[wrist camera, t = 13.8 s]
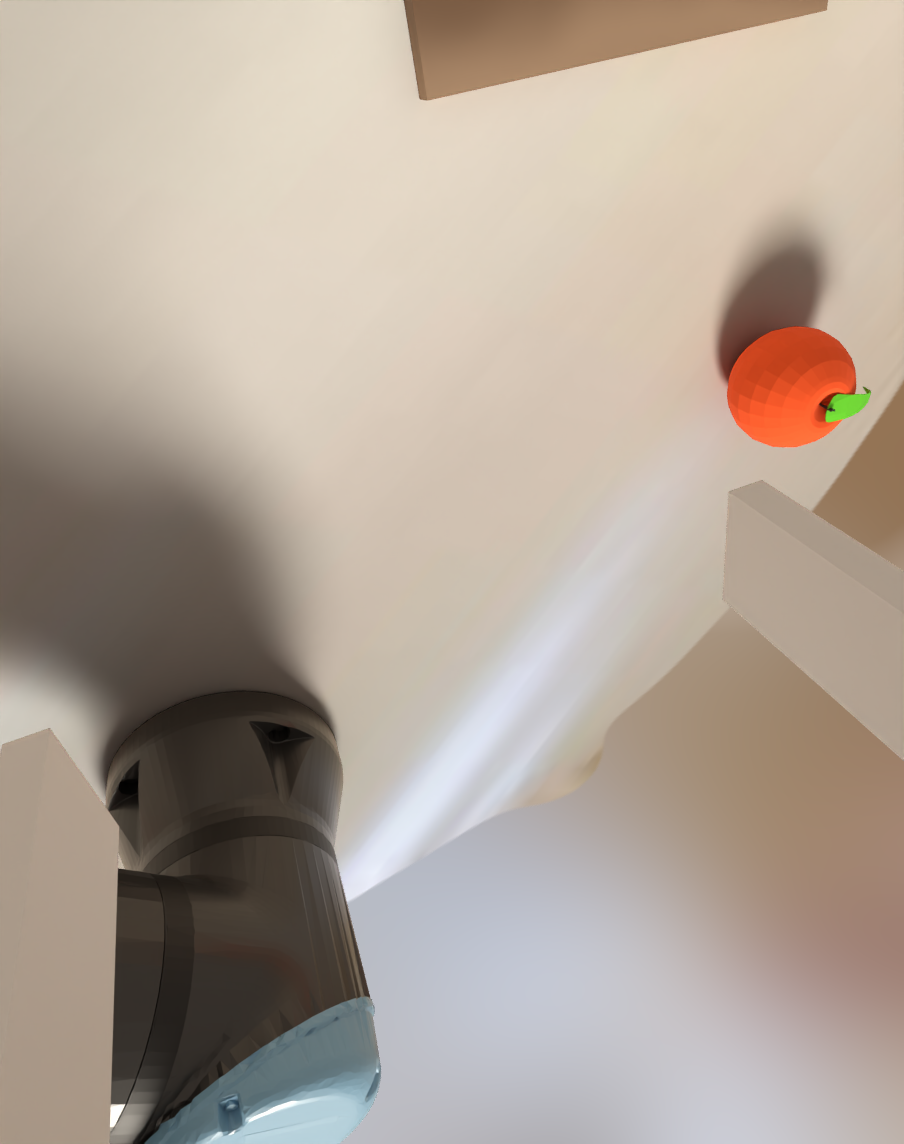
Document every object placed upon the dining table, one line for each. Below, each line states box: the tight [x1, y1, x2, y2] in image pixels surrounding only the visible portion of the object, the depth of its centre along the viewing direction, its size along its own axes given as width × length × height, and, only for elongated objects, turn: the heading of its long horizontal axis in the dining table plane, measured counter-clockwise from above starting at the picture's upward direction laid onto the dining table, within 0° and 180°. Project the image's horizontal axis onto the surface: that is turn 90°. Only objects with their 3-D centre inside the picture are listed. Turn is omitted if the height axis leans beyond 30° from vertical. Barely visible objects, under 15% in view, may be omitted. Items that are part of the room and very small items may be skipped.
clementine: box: [727, 326, 871, 447], centre depth 44 cm, size 8×7×7 cm
